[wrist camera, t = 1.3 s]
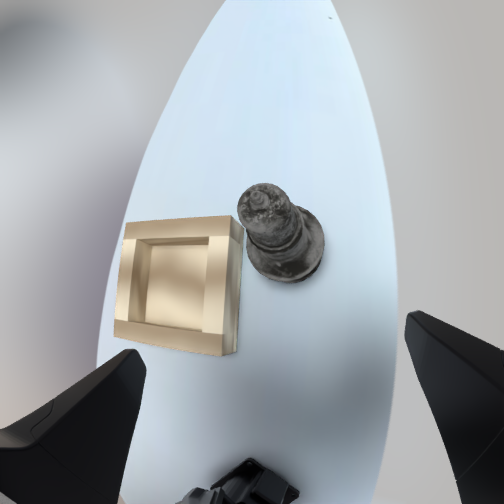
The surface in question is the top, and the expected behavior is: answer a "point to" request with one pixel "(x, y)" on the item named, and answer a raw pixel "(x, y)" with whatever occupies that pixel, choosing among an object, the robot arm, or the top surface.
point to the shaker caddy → (181, 284)
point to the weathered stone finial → (280, 234)
